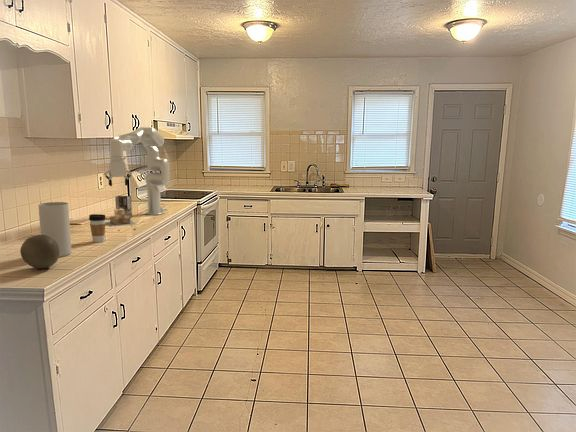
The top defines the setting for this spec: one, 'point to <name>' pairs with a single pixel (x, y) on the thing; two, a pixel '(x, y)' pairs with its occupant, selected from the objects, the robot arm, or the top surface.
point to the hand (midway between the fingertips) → (118, 185)
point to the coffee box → (124, 204)
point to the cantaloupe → (40, 251)
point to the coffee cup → (97, 227)
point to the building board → (119, 225)
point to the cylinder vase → (56, 224)
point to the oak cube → (119, 213)
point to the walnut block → (119, 220)
